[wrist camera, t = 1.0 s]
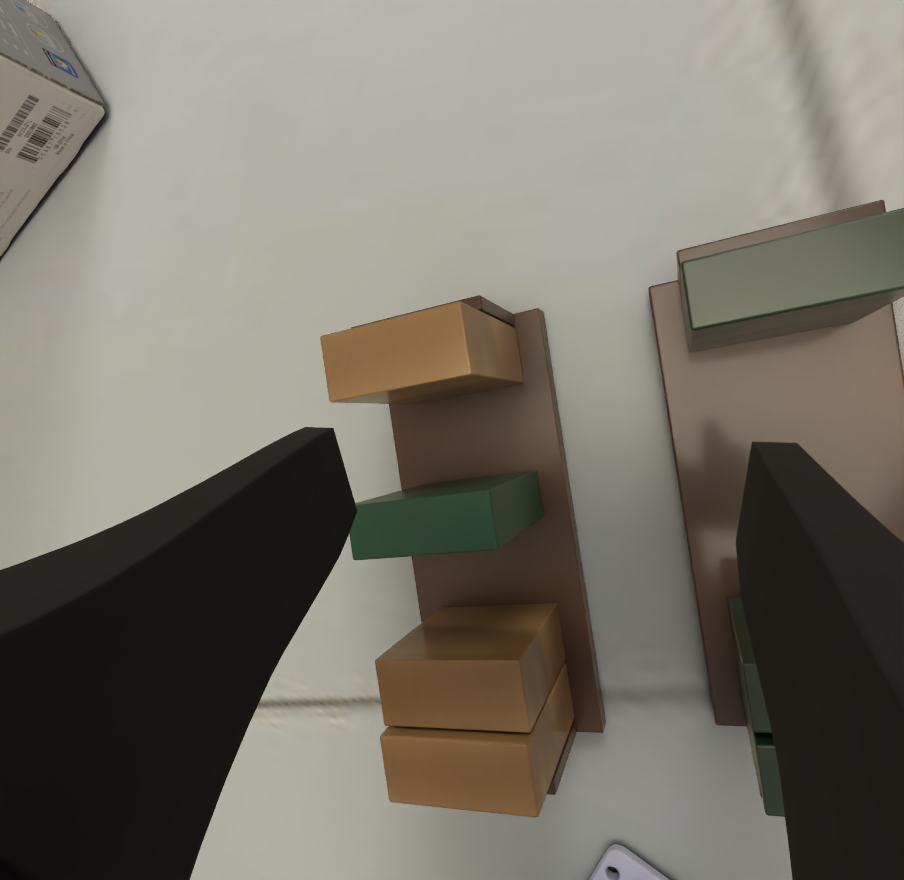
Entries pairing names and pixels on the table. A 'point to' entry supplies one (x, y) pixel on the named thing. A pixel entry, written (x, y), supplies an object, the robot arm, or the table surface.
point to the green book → (447, 517)
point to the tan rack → (478, 562)
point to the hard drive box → (37, 110)
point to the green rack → (778, 405)
